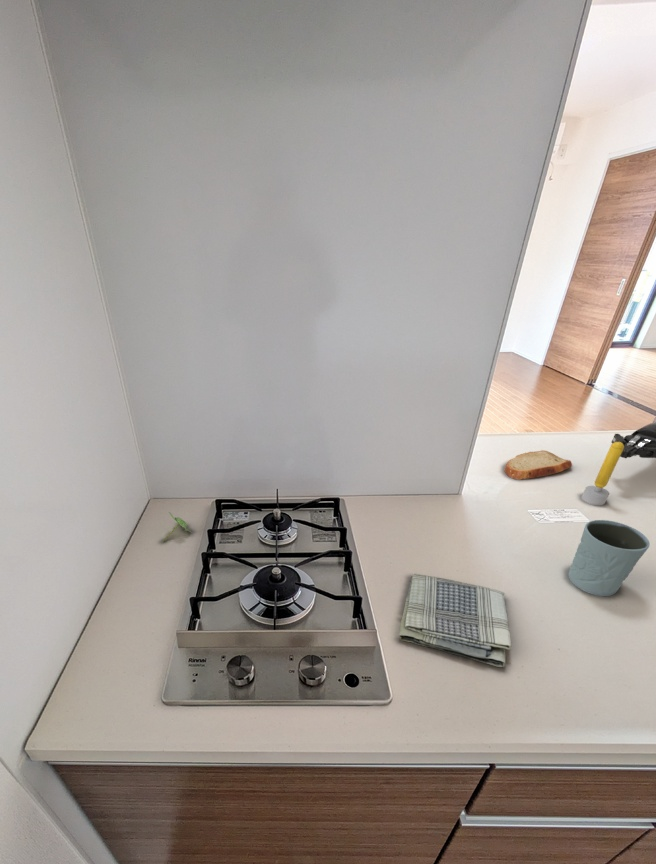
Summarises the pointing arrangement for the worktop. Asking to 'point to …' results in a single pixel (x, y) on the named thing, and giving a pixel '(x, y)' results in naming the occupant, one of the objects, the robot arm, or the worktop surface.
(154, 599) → the worktop surface
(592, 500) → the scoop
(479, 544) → the worktop surface
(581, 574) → the blue-green plant pot
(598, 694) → the worktop surface
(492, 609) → the dish towel
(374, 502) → the worktop surface
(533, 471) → the bread slice
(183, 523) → the green hummingbird figurine
